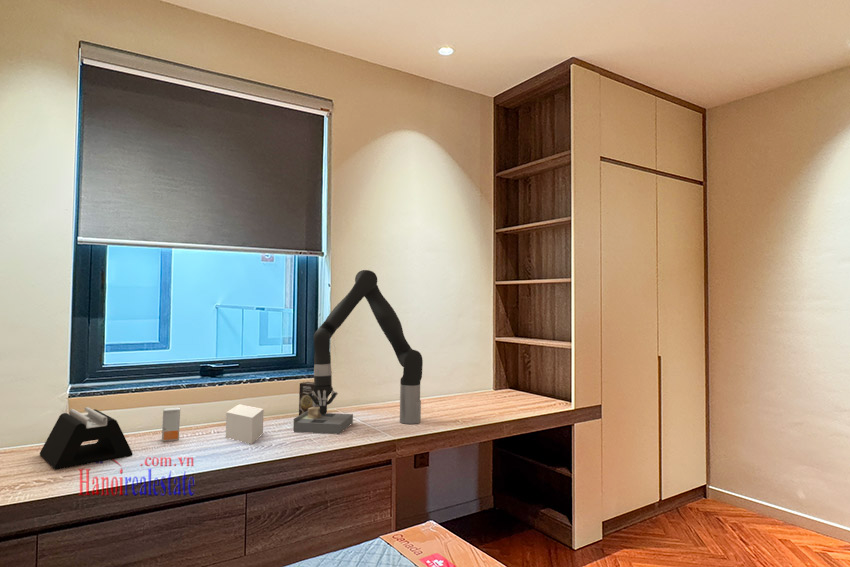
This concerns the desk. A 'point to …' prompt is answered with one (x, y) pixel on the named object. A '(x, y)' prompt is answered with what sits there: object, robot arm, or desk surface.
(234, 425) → the beige rectangular block
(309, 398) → the coffee box
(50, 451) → the device stand
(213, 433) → the desk surface
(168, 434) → the skincare box
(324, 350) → the robot arm
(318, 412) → the block
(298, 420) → the plate
